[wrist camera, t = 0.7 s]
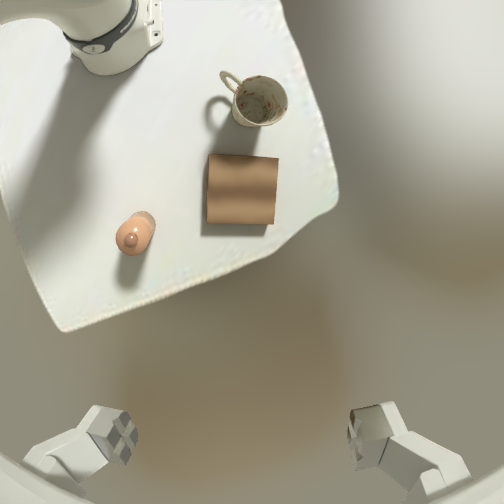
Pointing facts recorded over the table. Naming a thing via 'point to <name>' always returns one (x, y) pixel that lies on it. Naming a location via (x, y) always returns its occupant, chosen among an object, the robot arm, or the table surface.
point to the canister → (135, 233)
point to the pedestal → (241, 189)
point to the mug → (256, 100)
